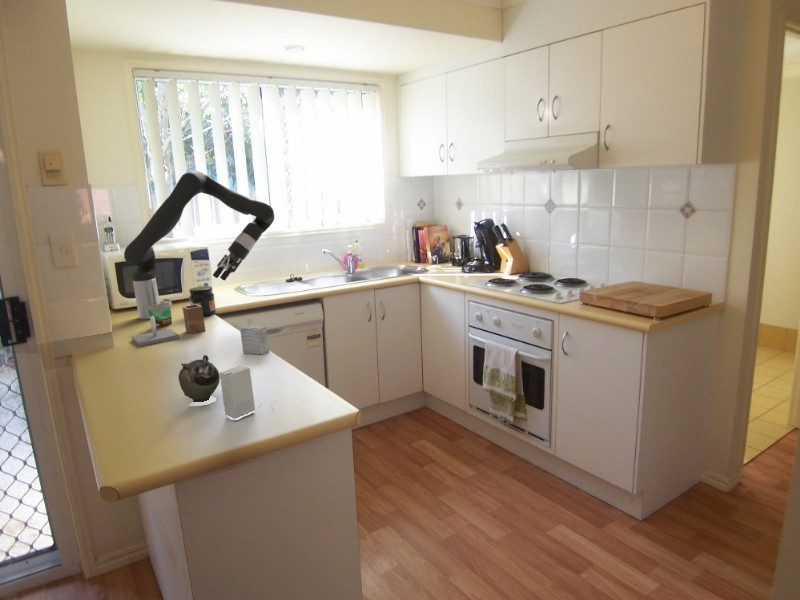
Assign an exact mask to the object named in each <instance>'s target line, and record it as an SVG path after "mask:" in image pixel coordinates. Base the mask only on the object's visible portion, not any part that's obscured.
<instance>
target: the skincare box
mask: <svg viewBox="0 0 800 600" xmlns="http://www.w3.org/2000/svg"><path fill="white" fill-rule="evenodd" d="M219 375H220V386H221V392H222V400H223V406H224V407H223V408H224V414H225V416H226V415H228V416H230V417H232V418H234V419H235V418H238V417H240V416H243V415H245V414H248V413H249V412H252V411H254V410H255V411H256V407H255V399H254V392H253V391H254V390H253V383H252V376H251V369H250V367H248V366H244V365H237V366H235V367H231V368H229V369H226V370H223V371H220V372H219Z"/></svg>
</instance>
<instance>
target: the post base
mask: <svg viewBox="0 0 800 600" xmlns="http://www.w3.org/2000/svg"><path fill="white" fill-rule="evenodd" d="M149 320H150V328H151V332H148V333H143V334H139V335H138V334H137V335H132V336H131V340H133V341H132V342H134V344H136V345H137V346H138V347H140V348H141V347H145V345H147V346H150V345H149V344H151V345H154V344H153V343H156V344H159V343H158V342H161V343H164V342H163V341H165V342H169V341H168V340H170V341H173V340H172V339H175V340H179V339H180V334H179V333H177V332H175V330H172V329H171V328H168V329H167V328H166V329H162V330H157V329H158V328H156V323H155V317H154V316H151V317H150V319H149Z"/></svg>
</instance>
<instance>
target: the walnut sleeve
mask: <svg viewBox="0 0 800 600" xmlns="http://www.w3.org/2000/svg"><path fill="white" fill-rule="evenodd" d="M181 308H182V313H183V320H184V328H185V332H186V333H188V334H190V335H191V334H192V335H193V334H197V333H203V332H206V326H205V318H204V317H203V309H202V306H200V305H198V304H195V305H190V304H189V305H185V306H182V307H181Z"/></svg>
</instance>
